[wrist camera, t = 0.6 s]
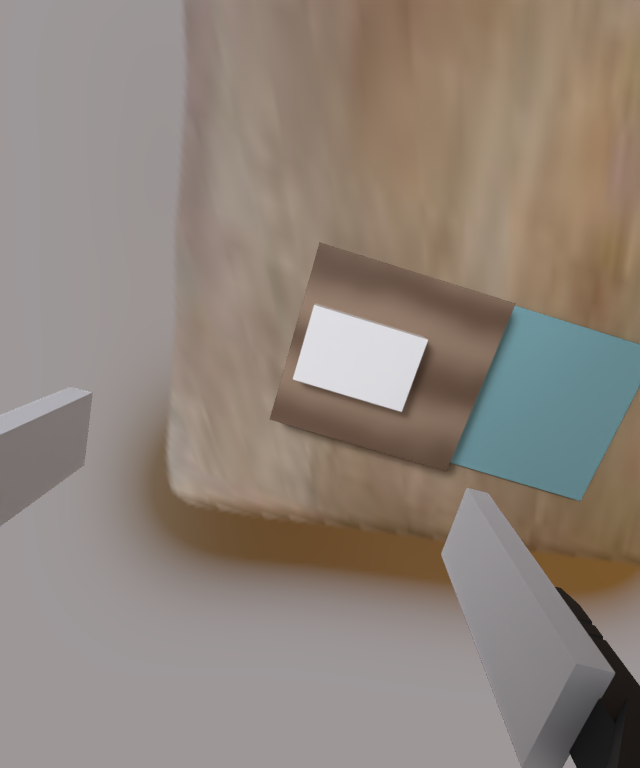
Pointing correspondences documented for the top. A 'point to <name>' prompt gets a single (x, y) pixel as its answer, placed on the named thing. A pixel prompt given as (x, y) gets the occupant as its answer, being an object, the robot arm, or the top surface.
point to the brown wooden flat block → (434, 374)
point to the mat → (549, 404)
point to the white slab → (359, 357)
